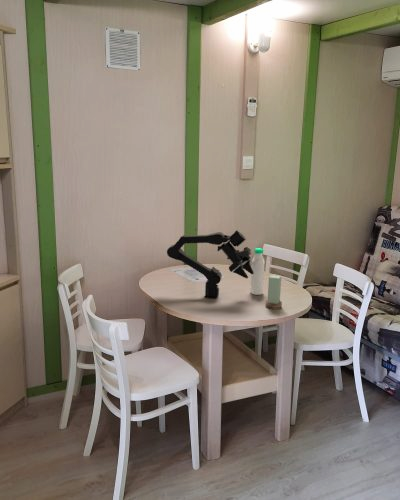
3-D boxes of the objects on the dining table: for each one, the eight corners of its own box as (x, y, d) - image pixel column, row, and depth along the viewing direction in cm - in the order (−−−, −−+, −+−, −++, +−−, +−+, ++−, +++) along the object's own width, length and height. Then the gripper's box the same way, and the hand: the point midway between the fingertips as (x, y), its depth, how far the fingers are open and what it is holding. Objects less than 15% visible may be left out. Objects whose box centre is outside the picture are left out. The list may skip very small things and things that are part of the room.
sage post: (267, 302, 236) (268, 277, 233) (270, 299, 240) (271, 274, 238) (277, 303, 234) (278, 278, 231) (279, 301, 238) (281, 276, 236)
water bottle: (261, 291, 262) (264, 247, 257) (264, 295, 256) (266, 250, 250) (249, 291, 262) (251, 247, 257) (251, 295, 255) (253, 249, 250)
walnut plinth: (264, 308, 235) (264, 303, 234) (266, 303, 242) (266, 298, 242) (280, 309, 233) (281, 305, 232) (282, 304, 240) (282, 300, 240)
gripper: (235, 245, 232) (256, 270, 230) (247, 239, 249) (266, 262, 247) (220, 259, 237) (240, 283, 235) (233, 252, 254) (251, 275, 252)
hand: (250, 275), depth 242 cm, fingers open, 9 cm apart
